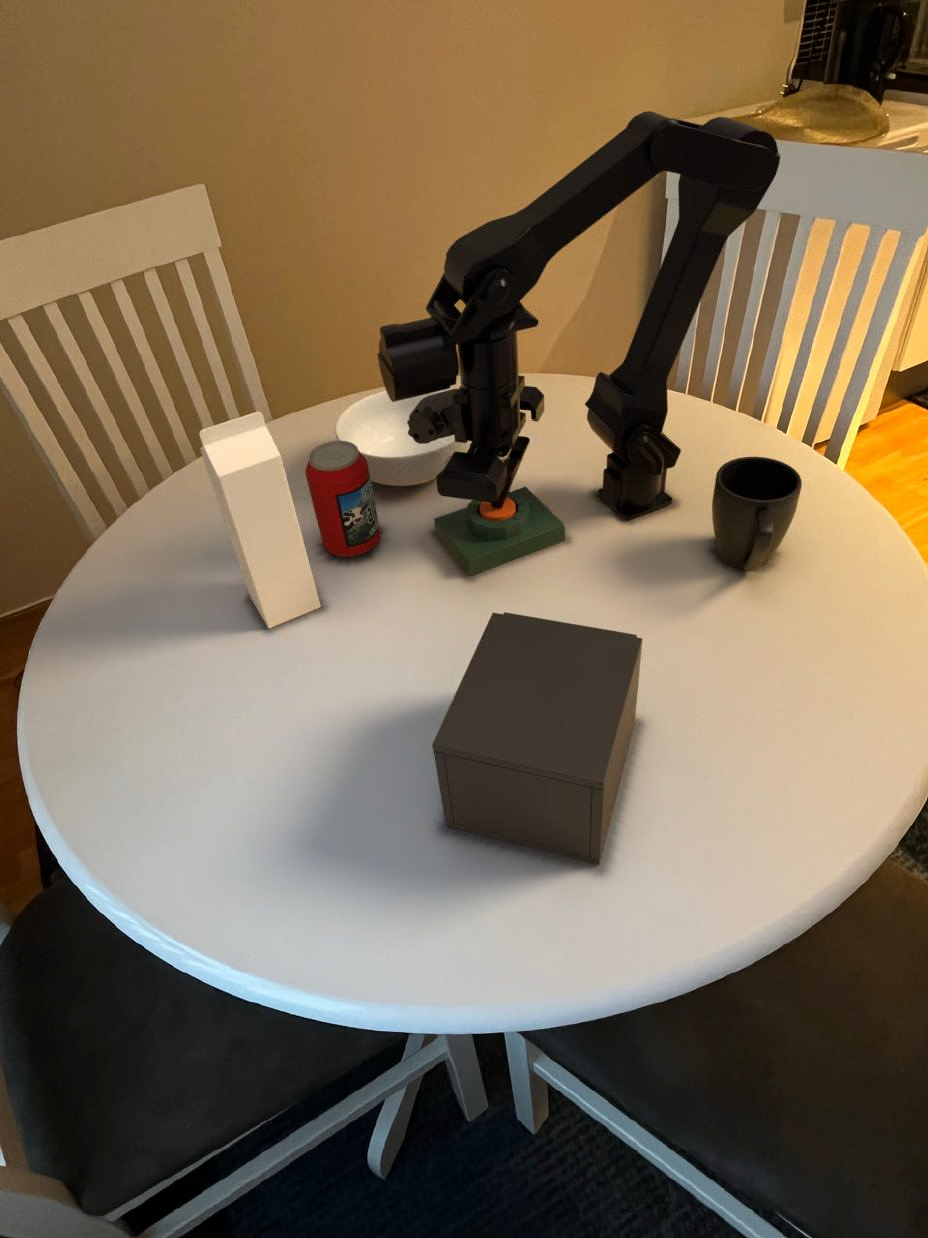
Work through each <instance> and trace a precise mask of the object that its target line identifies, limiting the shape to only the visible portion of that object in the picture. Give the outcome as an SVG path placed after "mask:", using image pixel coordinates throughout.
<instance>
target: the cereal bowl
mask: <svg viewBox="0 0 928 1238" xmlns="http://www.w3.org/2000/svg"><path fill="white" fill-rule="evenodd" d="M444 391H445V390H441V391H437V392H433V393H429V394H425V395H420V396H416V397H412V398H408V399H404V400H400V401H396V402H392V401H391V400H390V398H389V396H388V394H387V391H386V390H383V391H380V392H375V393H374V394H371V395H370V394H369V395H367V396H365V397H363V398H361V399H359V400H357V401H355V402H354V403H352V404H351V405H350V406H348V407H347V408H346V409H345V410H344V411H343V412H342V413H341V414H340V415H339V417H338V419H337V421H336V424H335V428H334V429H335V431H334V432H335V438H336V441H347V442H351V443H353V444H355V445H356V446H357V448H358V450H359V451H360V453H361V454H362V455H363V456H364V457H365V458H366V460H367V464H368V469H369V474H370V479H371V482H373V483H378V484H381V485H385V486H396V487H397V486H399V487H403V486H405V487H407V486H414V485H416V486H417V485H420V484H424V483H428V482H431V481H433V480H436V475H437V474H438V472H439V471H440V469H441V468H442V466H443V464H444V463H445V461H446V460H447V458H448V457H449V456H451V455H452V454H453V453H454V452H455V451H456V452H464V453H467V451H468V449H469V448H470V444H471V443H472V441H467V443H460V442H455V437H454V435H451V436H448V437H444V438H440V439H437V440H435V441H431V442H430V443H427V444H419V443H417V442H415V441H414V439H413V437H410V436H409V434H408V431H409V426H408V424H407V421H408V420H409V415H410V414H411V413H412V411H413V410H414V409H415V407H416V406H417V404H418V403H419V402H420V401H421V400H422V399H423V398H425V397H427V396H430V395H433V394H437V393H440V392H444Z"/></svg>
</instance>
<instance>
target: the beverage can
mask: <svg viewBox="0 0 928 1238" xmlns="http://www.w3.org/2000/svg"><path fill="white" fill-rule="evenodd" d="M304 471H305V472H304V473H305V477H306V481H307V486H308V490H309V494H310V499H311V503H312V507H313V509H314V516H315V519H316V522H317V523H316V524H317V527H318V530H319V535H320V538H321V542H322V545H323V547H324V548H325V550H326V551H327V552H329V553H330V554H332V555H335V556H338V557H340V556H341V557H355V556H359V555H362V554H365V553H366V552H368V551H370V550H371V549H373V548H374V547H376V545H377V544H378V542H379V541H380V539H381V529H380V522H379V517H378V512H377V505H376V501H375V495H374V490H373V485H372V481H371V479H370V474H369V469H368V464H367V460H366V458H365V457H364V456H363V455H362V454H361V453H360V451H359V450H358V448H357V446H356V445H355V444H353V443H351V442H347V441H337V440H332V441H327V442H323V443H321V444H319V445H317V446H315V447H314V448H313V449H312V450H311V451H310V452H309V454H308V461H307V464H306V467H305V470H304Z"/></svg>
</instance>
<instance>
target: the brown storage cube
mask: <svg viewBox="0 0 928 1238" xmlns="http://www.w3.org/2000/svg"><path fill="white" fill-rule="evenodd" d="M642 649H643V638H642V637H638V636H637V637H632V636H626V635H620V634H615V633H609V632H603V631H597V630H591V629H586V628H580V627H574V626H568V625H562V624H557V623H551V622H545V621H539V620H533V619H527V618H522V617H516V616H510V615H504V613H498V612H492V613H491V616H490V618H489V620H488V622H487V623H486V626H485V629H484V630H483V633H482V635H481V637H480V639H479V642H478V644H477V646H476V648H475V650H474V652H473V655H472V657H471V659H470V661H469V664H468V665H467V668H466V670H465V672H464V674H463V677H462V679H461V681H460V683H459V685H458V687H457V690H456V692H455V694H454V695H453V698H452V699H451V702H450V705H449V707H448V709H447V711H446V713H445V716H444V718H443V720H442V721H441V724H440V727H439V728H438V731H437V733H436V736H435V738H434V740H433V742H432V751H433V757H434V763H435V764H434V765H435V769H436V776H437V781H438V787H439V794H440V800H441V804H442V810H443V817H444V822H445V826H446V827H448V828H452V829H457V830H459V831H463V832H467V833H472V834H476V835H480V836H482V837H483V836H484V837H488V838H492V839H495V840H500V841H503V842H507V843H510V844H511V843H512V844H515V845H519V846H523V847H527V848H531V849H534V850H538V851H543V852H546V853H550V854H554V855H557V856H562V857H566V858H569V859H573V860H577V861H582V862H585V863H589V864H594V865H597V866H599V865H600V864H601V860H602V856H603V853H604V849H605V844H606V841H607V836H608V832H609V828H610V825H611V822H612V821H611V820H612V816H613V812H614V808H615V804H616V800H617V797H618V792H619V788H620V785H621V784H620V783H621V780H622V777H623V773H624V769H625V764H626V760H627V757H628V752H629V748H630V744H631V740H632V736H633V733H634V732H633V731H634V729H635V723H636V713H637V704H638V691H639V680H640V669H641V659H642V658H641V657H642Z"/></svg>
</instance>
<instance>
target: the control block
mask: <svg viewBox="0 0 928 1238" xmlns="http://www.w3.org/2000/svg"><path fill="white" fill-rule="evenodd" d="M507 498H510V499H511V500H513V501H514V503H515V506H516V514H515V515H514V516H513V517H511V518H508V519H505V520H503V521H490V520H487V519H484V518H481V516H480V504H481V503H482V502H483V501H475V500H470V501H469V502H468V503H467V505H466V507H462V508H460V509H457V510H455V511H451V512H448V513H446V514H443V515H440V516H438V517H435V518H433V522H434V530H435V535H436V536H437V537H438V538H439V540H440V541H441V542H442V543H443V545H444V546H445V547H446V549H447V550H448V551H449V552H450V553H451V554H452V556H453V557H454V558H455V560H456V561H457V562H458V563H459V565H460V566H461V567H462V568H463V570H464V571H465V572H466V574H467V575H468V576H469V577H472V576H475V575H477V574H480V573H482V572H485V571H488V570H490V569H493V568H496V567H499V566H501V565H504V564H506V563H509V562H512V561H514V560H517V559H520V558H522V557H525V556H528V555H530V554H533V553H535V552H538V551H540V550H543V549H546V548H548V547H551V546H554V545H556V544H559V543H561V542H564V541H566V524H565V523H564V522H563V521H562V520H560V518H559V517H558V516H557V515H555V514H554V513H553V511H551V509H549V508H548V507H547V505H545V504H544V502H542V501H541V500H540V499H539V497H537V496H536V495H535V494H534V493H533V492H532V491H531V490H530V489H529V488H528V487H527V486H522V487H520V488H517V489H514V490H511V491H510V490H509V493H508V495H507Z"/></svg>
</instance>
